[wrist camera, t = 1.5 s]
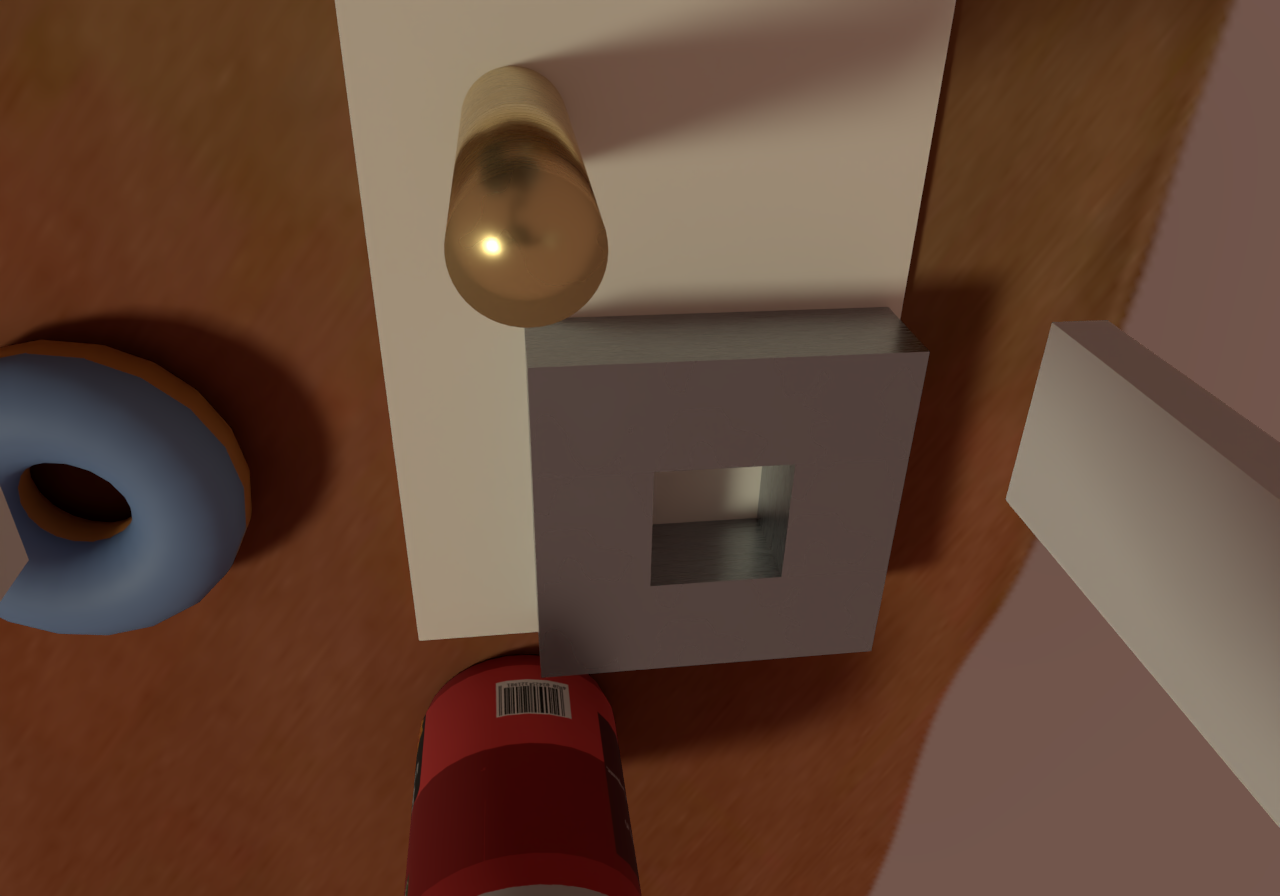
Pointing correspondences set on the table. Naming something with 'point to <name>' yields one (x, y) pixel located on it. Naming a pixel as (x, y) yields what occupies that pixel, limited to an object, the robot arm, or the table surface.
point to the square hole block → (714, 439)
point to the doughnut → (137, 467)
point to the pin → (522, 205)
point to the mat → (623, 223)
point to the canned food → (519, 789)
